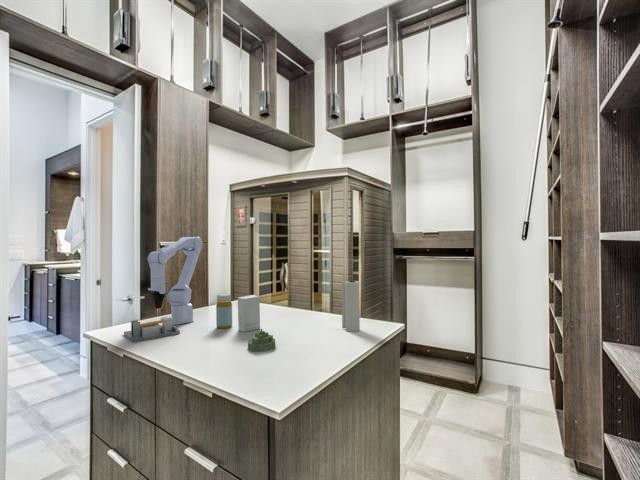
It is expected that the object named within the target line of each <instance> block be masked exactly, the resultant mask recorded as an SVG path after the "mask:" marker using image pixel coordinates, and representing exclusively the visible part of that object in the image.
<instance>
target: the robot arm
mask: <svg viewBox="0 0 640 480" xmlns="http://www.w3.org/2000/svg"><path fill="white" fill-rule="evenodd" d="M203 245H204V244H203V240H202V238H201V237H200V236H181V237H180V238H179V240H177V241H176V242H174V243H173V244H169V243H168V244H167V243H166V244H164V246H162V247H161V248H158V249H157V250H155V251H151V252H149V253H148V256H147V258H146V259H147V262H148V265H149V269H150V287H148V288H147V290H148V291H151V292H150V295H149V296H150V297H151V298H152V302H153V305H154V308H155V309H161V308H162V304H163V302H164V301H163V300H165V299H164V298H165V296H166V295H167V297H166V300H167V303H169V305H170V308H171V311H170V312H171V313H170V314H171V317H170V318H172V325H174V326H176V325H181V324H188V323H193V322H194V316H193V315H194V307H193V304H192V303H191V299H192V293H193V290H192V289H191V288H190V283H191V280H192V277H193V274H194V271H195V268H196V265H197V262H198V261H199V260H198V259H199V257H200V254H201V252H202V248H203ZM181 249H182V251H183V253H184V255H186V258H185V262H184V265H183V267H182V269H181V273H180V276H179V278H178V281H177V283H176V284H174V285H173V286H171V289H170V290H169V292H168V294H167V293H166V271H165V269H166V267H165V265H166V264H167V262H168V261H169V259H170V258H172V257H174V256H175V255H176V253H177V252H178V251H180V250H181Z"/></svg>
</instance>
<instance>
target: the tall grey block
mask: <svg viewBox="0 0 640 480" xmlns="http://www.w3.org/2000/svg"><path fill="white" fill-rule="evenodd" d="M341 316H342V317H341V322H342V324H341V325H342V326H341V327H342V329H345V331H346V332H351V333H352V332H353V333H355V332H360V330H361V329H360V328H361V326H360V321H361V320H360V282H359V281H358V280H344V281H343V280H342V281H341Z"/></svg>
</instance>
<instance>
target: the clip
mask: <svg viewBox="0 0 640 480" xmlns="http://www.w3.org/2000/svg"><path fill="white" fill-rule="evenodd" d="M160 320H162V323H161V324H162V327H163V328H165V329H167V331H169V330H172V325H173V324H172V318H171V317H169V316H165V317H160Z"/></svg>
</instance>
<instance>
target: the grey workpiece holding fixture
mask: <svg viewBox="0 0 640 480" xmlns="http://www.w3.org/2000/svg"><path fill="white" fill-rule="evenodd" d="M140 324H141V321H139V320H138V319H134V320H131V321H130V330H126V331H123V335H124V336H125V338H127V339H128V340H129V341H130V342H131V343H138V342H144V341H148V340H154V339H159V338H160V339H161V338H165V337H171V336H174V335H176V336H177V335H180V334H181V330H179V327H178V326H176V325H173V324H172V330H169V331H167V329H165V328H163V327H162V325H161V324H160V323H158V324H152V325H147V326H141V327H140Z"/></svg>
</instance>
